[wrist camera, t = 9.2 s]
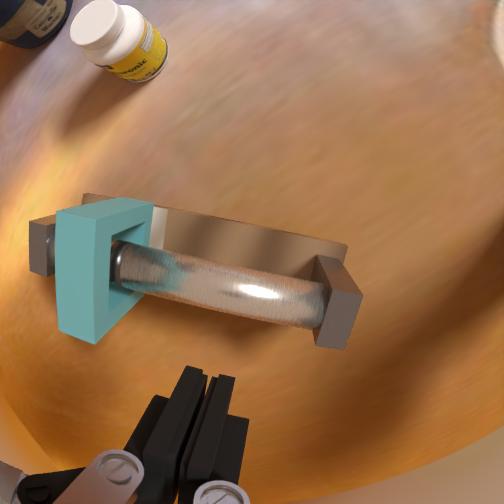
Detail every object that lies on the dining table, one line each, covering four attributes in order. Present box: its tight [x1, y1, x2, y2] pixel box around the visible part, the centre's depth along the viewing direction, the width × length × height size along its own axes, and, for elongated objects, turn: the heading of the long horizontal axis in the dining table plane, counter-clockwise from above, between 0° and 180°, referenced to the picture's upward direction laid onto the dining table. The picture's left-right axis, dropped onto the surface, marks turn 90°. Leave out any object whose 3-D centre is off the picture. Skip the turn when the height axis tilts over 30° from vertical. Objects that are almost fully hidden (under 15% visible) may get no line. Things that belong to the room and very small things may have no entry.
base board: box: [82, 193, 348, 281], centre depth 28 cm, size 25×6×1 cm, turn 79°
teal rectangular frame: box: [55, 197, 154, 345], centre depth 21 cm, size 3×8×9 cm, turn 169°
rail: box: [29, 214, 363, 350], centre depth 24 cm, size 24×4×9 cm, turn 79°
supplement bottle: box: [70, 0, 169, 82], centre depth 19 cm, size 5×5×10 cm
